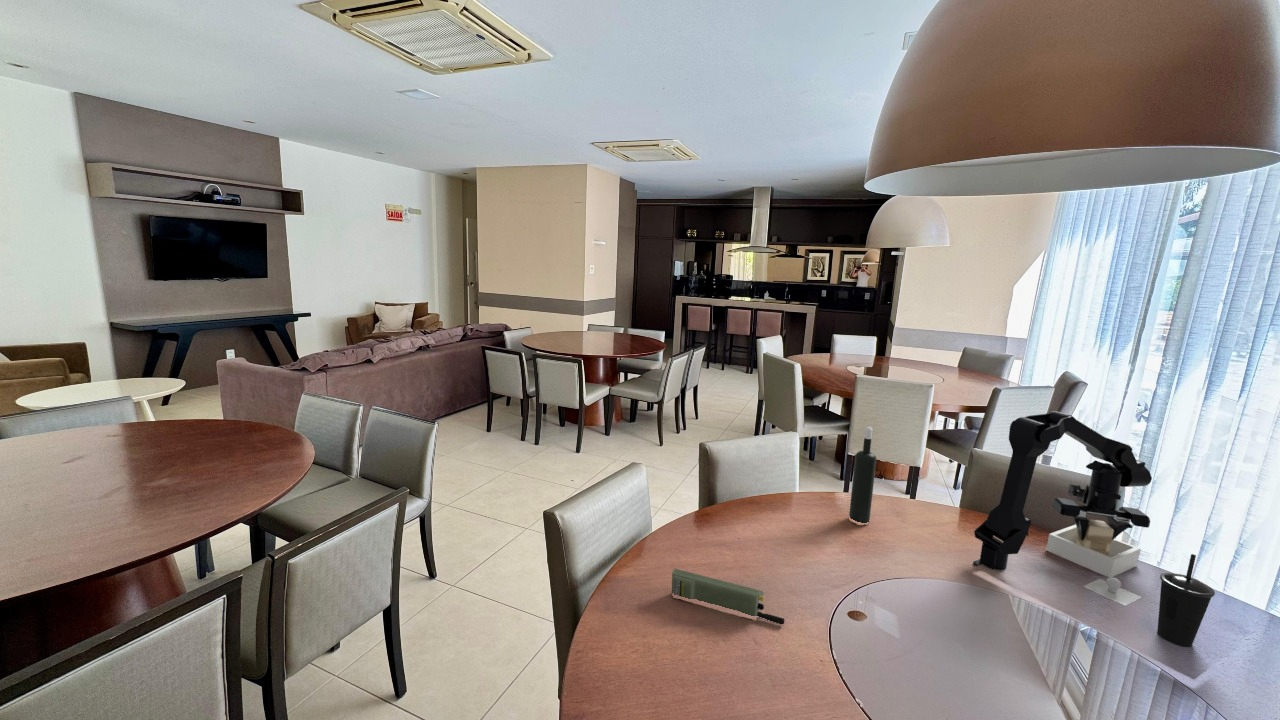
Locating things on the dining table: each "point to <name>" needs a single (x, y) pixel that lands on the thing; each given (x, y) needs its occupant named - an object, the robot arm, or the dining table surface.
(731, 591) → the handheld radio
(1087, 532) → the wooden post
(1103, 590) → the stud plate
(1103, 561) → the white bin
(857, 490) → the wine bottle
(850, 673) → the dining table surface
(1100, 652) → the dining table surface
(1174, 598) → the drinking cup
